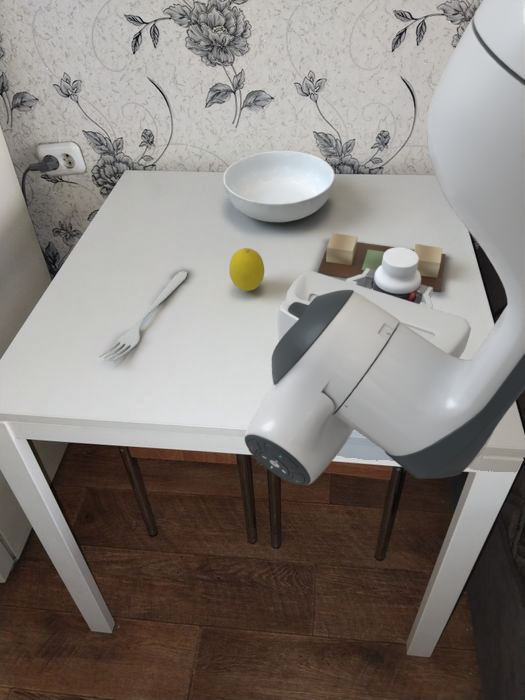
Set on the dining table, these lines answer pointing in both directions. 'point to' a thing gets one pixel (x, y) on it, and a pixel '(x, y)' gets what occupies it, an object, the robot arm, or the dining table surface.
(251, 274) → the lemon
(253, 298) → the dining table surface
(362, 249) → the word board
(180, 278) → the fork
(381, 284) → the pill bottle
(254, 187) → the serving bowl
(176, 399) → the dining table surface
